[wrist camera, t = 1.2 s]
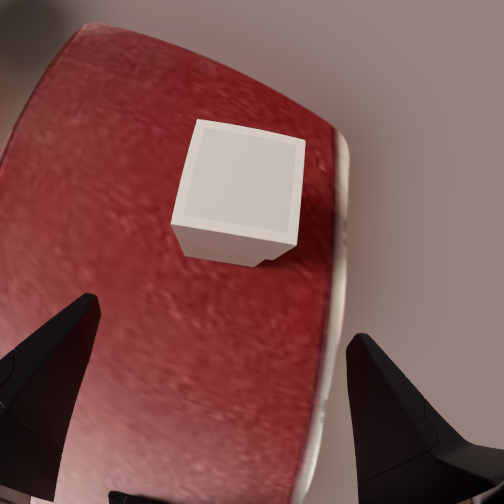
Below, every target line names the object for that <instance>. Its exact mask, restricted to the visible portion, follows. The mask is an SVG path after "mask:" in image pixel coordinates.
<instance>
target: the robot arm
mask: <svg viewBox="0 0 504 504" xmlns="http://www.w3.org/2000/svg"><path fill="white" fill-rule="evenodd" d="M100 317H101V311H100V306H99V301H98V297H97V296H96V295H94V294H90V293H85V294H83V295H82V296H80V297H79V298H78V299H76V300H75V301H74V302H72V303H71V304H70V305H68V306H67V307H66V308H64V309H63V310H62V311H60V312H59V313H58V314H56V315H55V316H54V317H53V318H51V319H50V320H49V321H47V322H46V323H45V324H44V325H42V326H41V327H40V328H39V329H37V330H36V331H35V332H34V333H32V334H31V335H30V336H29V337H27V338H26V339H25V340H24V341H22V342H21V343H20V344H19V345H18V346H16V347H15V348H14V350H12V351H10V352H9V353H8V354H7V355H6V356H4V357H3V358H2V359H1V360H0V504H30V500H31V496H33V497H36V498H40V499H43V500H47V501H51V502H53V501H54V496H55V489H56V483H57V478H58V472H59V467H60V462H61V457H62V456H61V455H62V452H63V448H64V443H65V439H66V435H67V431H68V427H69V423H70V420H71V416H72V413H73V409H74V406H75V402H76V399H77V396H78V392H79V389H80V386H81V383H82V380H83V377H84V374H85V371H86V368H87V365H88V362H89V359H90V356H91V352H92V348H93V344H94V340H95V336H96V332H97V329H98V325H99V321H100ZM346 364H347V386H348V395H349V402H350V409H351V418H352V426H353V436H354V444H355V456H356V467H357V481H358V500H359V504H504V450H502V449H496V448H489V447H484V446H479V445H475V444H472V443H470V442H468V441H466V440H465V439H464V438H463V437H462V436H461V435H460V434H459V433H458V432H456V431H455V430H454V428H452V427H451V426H450V425H449V424H448V423H447V422H446V421H445V420H444V419H443V418H442V417H441V415H440V414H438V412H437V411H436V410H435V409H434V408H433V407H432V406H431V405H430V403H429V402H428V401H427V400H426V399H425V398H424V396H423V395H422V394H421V393H420V392H419V391H418V390H417V388H416V387H415V386H414V385H413V384H412V383H411V382H410V380H409V379H408V378H407V377H406V376H405V375H404V374H403V373H402V371H401V370H400V369H399V368H398V367H397V366H396V365H395V364H394V362H393V361H392V360H391V359H390V358H389V357H388V356H387V355H386V354H385V352H384V351H383V350H382V349H381V348H380V347H379V346H378V345H377V344H376V342H375V341H374V340H373V339H372V338H371V337H370V336H369V335H368V334H365V333H357V334H356V335H355V336H354V338H353V339H352V341H351V342H350V343H349V345H348V346H347V349H346ZM113 495H114V496H113ZM108 498H109V504H167V503H161V502H156V501H151V500H146V499H141V498H137V497H133V496H129V495H125V494H121V493H118V492H114V491H110V492H109V494H108Z"/></svg>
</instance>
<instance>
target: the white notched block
mask: <svg viewBox="0 0 504 504" xmlns="http://www.w3.org/2000/svg"><path fill="white" fill-rule="evenodd" d="M304 154H305V140H302V139H298V138H294V137H290V136H285V135H281V134H277V133H272V132H268V131H263V130H258V129H253V128H248V127H243V126H237V125H231V124H226V123H219V122H213V121H206V120H199V119H197V122H196V126H195V129H194V133H193V136H192V140H191V143H190V147H189V150H188V154H187V158H186V162H185V166H184V169H183V173H182V177H181V181H180V186H179V190H178V194H177V198H176V203H175V207H174V212H173V216H172V221H171V226H172V228H173V230H174V232H175V235H176V237H177V239H178V241H179V244H180V246H181V248H182V250H183V253H184V255H185V256H188V257H194V258H200V259H206V260H212V261H218V262H224V263H230V264H237V265H243V266H249V267H255V266H256V265H258V264H259V263H260V262H262V261H263V260H265V259H268V260H274V259H276V258H277V257H279V256H280V255H282V254H284V253H285V252H287V251H288V250H290V249H292V248H293V247H295V246H296V245H297V237H298V227H299V216H300V205H301V194H302V181H303V168H304Z"/></svg>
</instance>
